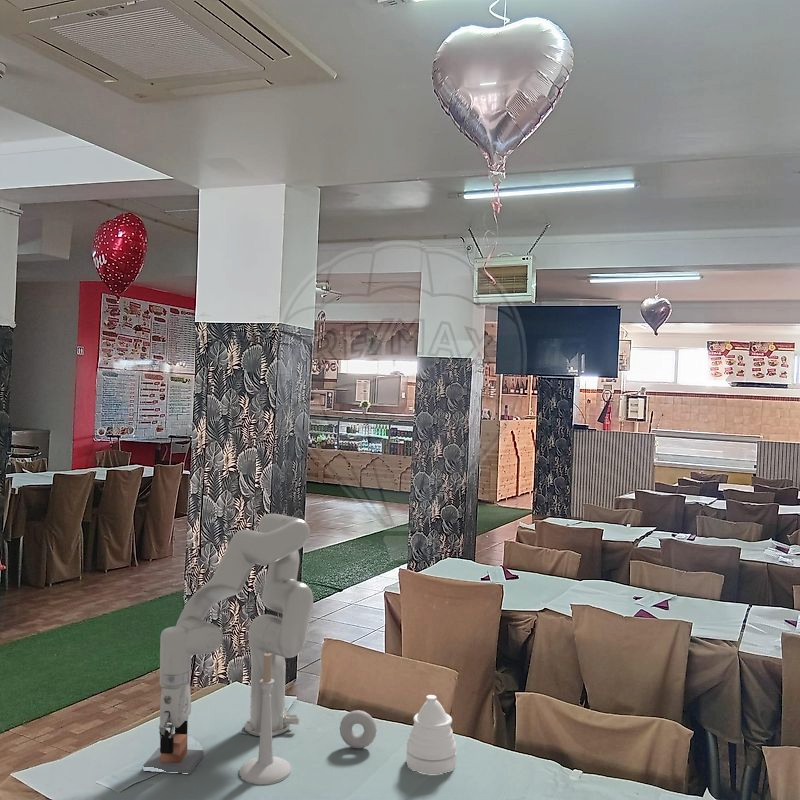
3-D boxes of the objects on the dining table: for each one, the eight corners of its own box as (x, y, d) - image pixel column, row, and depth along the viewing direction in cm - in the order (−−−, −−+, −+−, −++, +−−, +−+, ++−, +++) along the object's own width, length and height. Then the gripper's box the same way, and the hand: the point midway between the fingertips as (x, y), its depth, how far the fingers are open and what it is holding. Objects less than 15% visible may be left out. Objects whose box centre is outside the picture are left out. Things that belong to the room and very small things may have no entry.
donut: (377, 746, 213) (377, 709, 213) (375, 752, 210) (375, 714, 210) (340, 743, 214) (341, 706, 214) (337, 749, 211) (338, 712, 211)
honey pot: (452, 778, 197) (454, 706, 196) (401, 772, 199) (403, 701, 199) (459, 754, 209) (460, 687, 209) (411, 749, 212) (412, 682, 212)
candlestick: (241, 787, 190) (243, 663, 190) (237, 762, 202) (239, 645, 202) (294, 781, 193) (296, 659, 193) (287, 757, 206) (289, 642, 205)
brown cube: (187, 753, 203) (187, 734, 203) (179, 763, 198) (180, 743, 198) (168, 752, 204) (168, 733, 204) (160, 761, 199) (160, 741, 199)
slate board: (203, 756, 205) (203, 750, 205) (189, 774, 196) (189, 768, 196) (158, 753, 207) (158, 747, 206) (142, 771, 197) (142, 765, 197)
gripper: (177, 690, 192) (175, 761, 192) (201, 666, 209) (200, 730, 209) (147, 689, 192) (145, 759, 193) (173, 664, 210) (172, 728, 210)
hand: (174, 744), depth 201 cm, fingers open, 9 cm apart
